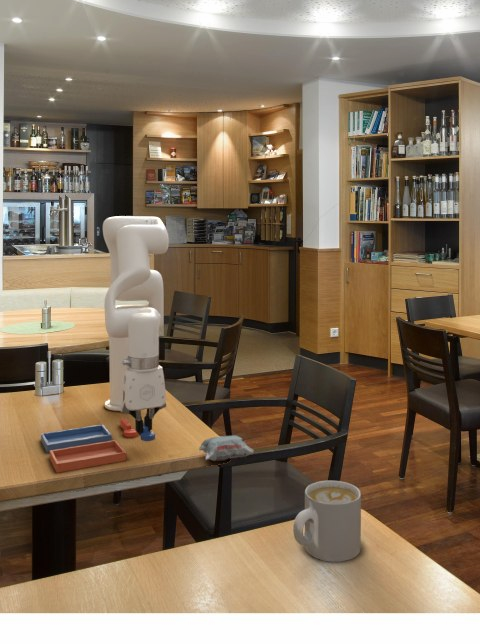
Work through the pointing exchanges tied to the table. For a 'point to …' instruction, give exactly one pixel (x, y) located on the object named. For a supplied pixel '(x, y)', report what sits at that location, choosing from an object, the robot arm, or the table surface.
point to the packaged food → (225, 448)
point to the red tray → (87, 456)
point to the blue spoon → (147, 434)
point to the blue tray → (75, 437)
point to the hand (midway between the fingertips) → (143, 433)
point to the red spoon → (127, 428)
